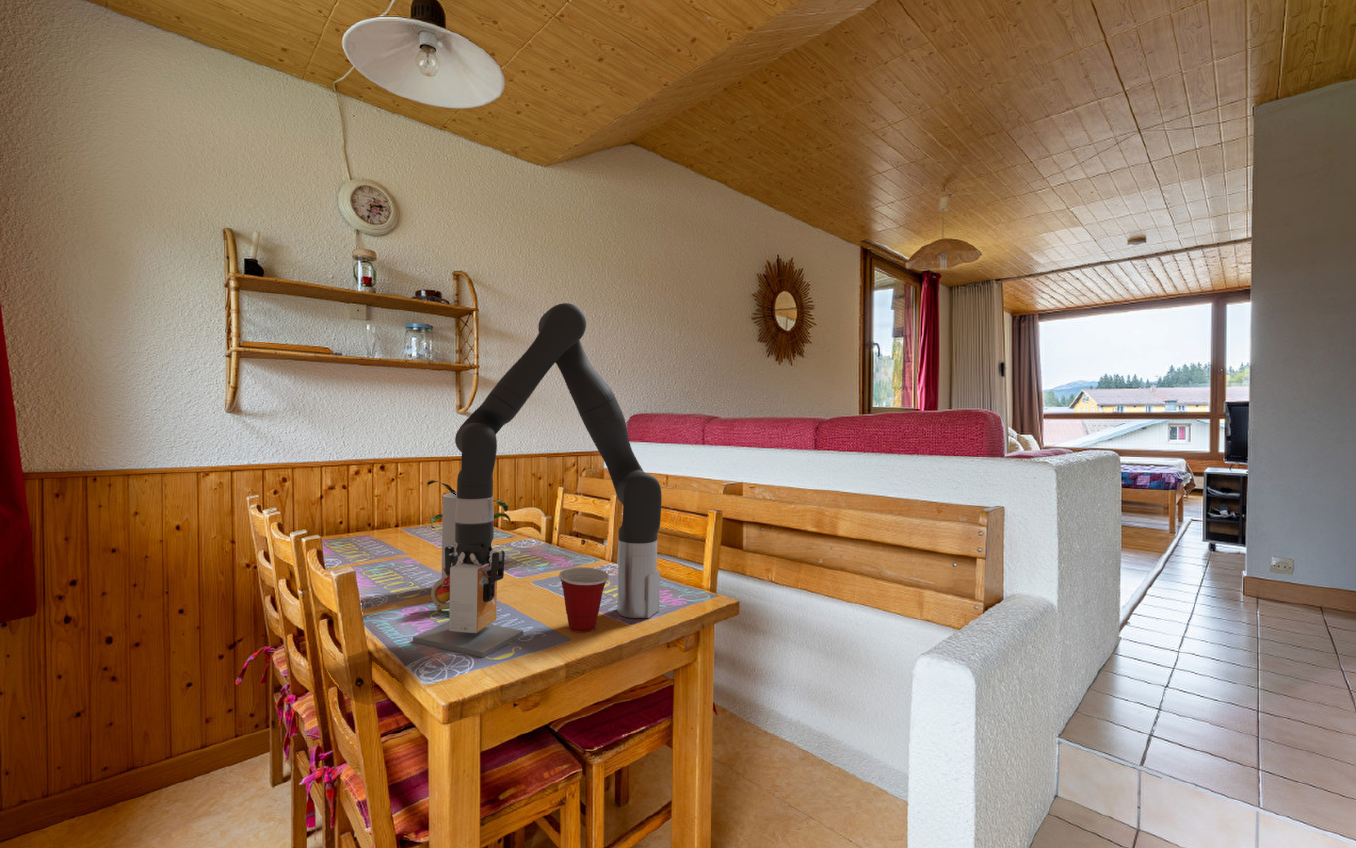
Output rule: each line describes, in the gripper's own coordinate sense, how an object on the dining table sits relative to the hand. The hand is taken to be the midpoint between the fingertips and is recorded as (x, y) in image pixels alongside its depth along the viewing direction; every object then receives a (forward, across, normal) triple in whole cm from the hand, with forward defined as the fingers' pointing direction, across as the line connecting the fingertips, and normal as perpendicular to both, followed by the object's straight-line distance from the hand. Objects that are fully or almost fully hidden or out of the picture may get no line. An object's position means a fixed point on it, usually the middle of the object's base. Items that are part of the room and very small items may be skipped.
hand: (473, 598), depth 115 cm
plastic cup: (+8, -18, -14) cm, 24 cm away
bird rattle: (+8, +16, -10) cm, 21 cm away
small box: (+6, 0, 0) cm, 6 cm away
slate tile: (+8, 0, +1) cm, 8 cm away
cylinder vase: (+8, +25, -25) cm, 36 cm away
